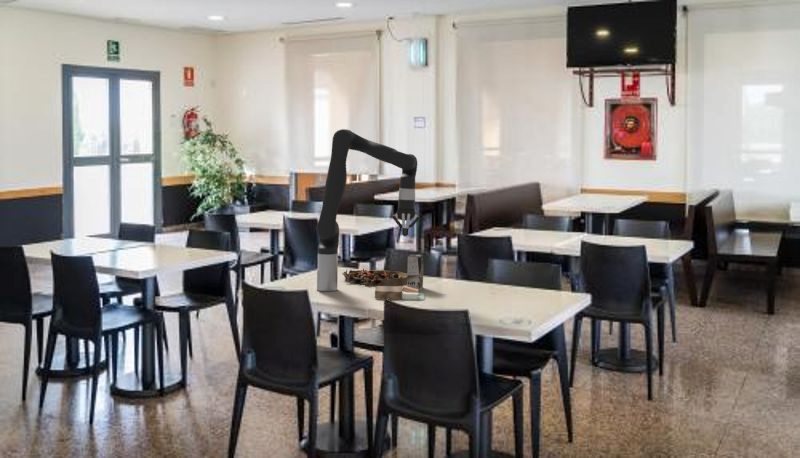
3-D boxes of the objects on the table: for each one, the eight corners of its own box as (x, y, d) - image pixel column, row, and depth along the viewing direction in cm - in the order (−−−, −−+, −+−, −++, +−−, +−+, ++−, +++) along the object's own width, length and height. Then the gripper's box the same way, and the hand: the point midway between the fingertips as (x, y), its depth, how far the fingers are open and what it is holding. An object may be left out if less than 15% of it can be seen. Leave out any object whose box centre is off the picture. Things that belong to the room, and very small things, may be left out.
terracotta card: (402, 291, 377) (403, 287, 377) (402, 289, 381) (403, 285, 381) (417, 295, 378) (418, 291, 377) (416, 293, 382) (418, 289, 381)
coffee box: (420, 291, 390) (420, 257, 388) (406, 290, 391) (407, 256, 389) (423, 287, 398) (424, 254, 397) (410, 286, 400) (410, 253, 398)
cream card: (402, 298, 370) (402, 294, 370) (402, 296, 374) (402, 292, 374) (417, 298, 370) (418, 294, 369) (418, 297, 374) (418, 292, 373)
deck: (374, 298, 370) (375, 291, 369) (376, 293, 382) (376, 285, 382) (401, 299, 370) (402, 291, 369) (402, 293, 382) (402, 286, 382)
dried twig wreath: (328, 283, 413) (328, 267, 412) (373, 276, 438) (373, 261, 437) (380, 290, 390) (380, 274, 389) (425, 282, 415) (425, 267, 414)
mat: (402, 299, 369) (402, 298, 369) (402, 293, 383) (402, 292, 383) (424, 300, 369) (424, 299, 369) (423, 294, 383) (423, 293, 383)
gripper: (391, 198, 373) (390, 236, 375) (421, 199, 372) (419, 238, 374) (392, 197, 380) (390, 234, 382) (421, 198, 380) (419, 236, 382)
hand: (405, 236), depth 378 cm, fingers closed
